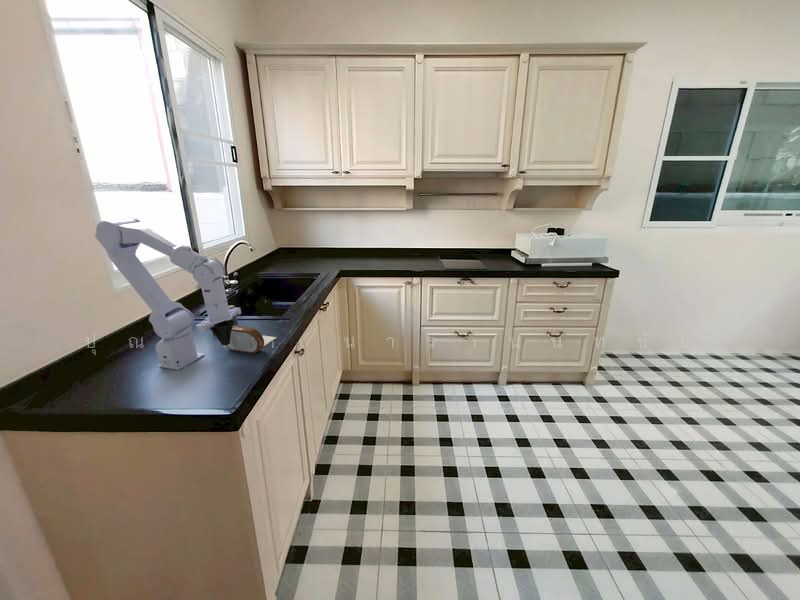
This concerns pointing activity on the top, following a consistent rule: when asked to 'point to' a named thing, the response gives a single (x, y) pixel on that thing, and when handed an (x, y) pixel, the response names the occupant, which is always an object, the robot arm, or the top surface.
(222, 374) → the top surface
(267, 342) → the mat
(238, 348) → the tin
